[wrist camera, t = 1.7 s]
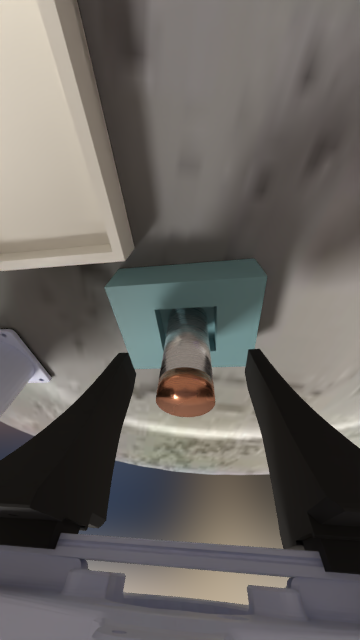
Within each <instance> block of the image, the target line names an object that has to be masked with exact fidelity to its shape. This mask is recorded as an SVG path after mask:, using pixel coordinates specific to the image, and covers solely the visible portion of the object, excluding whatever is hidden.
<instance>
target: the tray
mask: <svg viewBox="0 0 360 640" xmlns="http://www.w3.org/2000/svg"><path fill="white" fill-rule="evenodd" d="M134 249H135V247H134V243H133V239H132V234H131V230H130V226H129V221H128V217H127V213H126V209H125V204H124V200H123V196H122V191H121V187H120V183H119V178H118V174H117V170H116V166H115V161H114V157H113V153H112V148H111V144H110V140H109V135H108V131H107V127H106V122H105V118H104V114H103V110H102V105H101V101H100V97H99V92H98V88H97V84H96V79H95V75H94V71H93V67H92V62H91V58H90V54H89V49H88V45H87V41H86V36H85V32H84V28H83V23H82V19H81V15H80V11H79V6H78V2H77V0H0V271H9V270H21V269H33V268H46V267H58V266H70V265H83V264H95V263H107V262H120V261H125V260H126V259H127V258H128V257H129V255H130V254H131V253H132V251H133V250H134Z"/></svg>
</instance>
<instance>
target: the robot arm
mask: <svg viewBox="0 0 360 640" xmlns="http://www.w3.org/2000/svg"><path fill="white" fill-rule="evenodd" d="M245 376H246V381H247V387H248V391H249V394H250V397H251V401H252V404H253V407H254V410H255V414H256V417H257V420H258V423H259V427H260V430H261V434H262V438H263V443H264V448H265V452H266V457H267V462H268V467H269V472H270V478H271V483H272V489H273V494H274V499H275V506H276V512H277V518H278V524H279V530H280V536H281V540H282V545H283V548H284V549H276V548H262V547H249V546H234V545H220V544H207V543H192V542H179V541H166V540H152V539H138V538H124V537H111V536H97V535H83V534H78V532H79V530H83V531H86V530H87V528H88V527H91V528H99V527H101V526H102V525H103V524H104V522H105V521H106V516H107V508H108V501H109V494H110V487H111V480H112V474H113V469H114V463H115V458H116V452H117V447H118V443H119V438H120V433H121V429H122V425H123V422H124V419H125V416H126V412H127V409H128V406H129V403H130V399H131V396H132V393H133V389H134V383H135V377H136V372H135V370H134V367H133V364H132V361H131V359H130V356H129V353H118V355H117V356H116V357H115V358H114V359H113V361H112V362H111V363H110V364H109V365H108V367H107V368H106V369H105V370H104V371H103V373H102V374H101V375H100V376H99V377H98V378H97V379H96V381H95V382H94V383H93V384H92V385H91V386H90V387H89V388H88V389H87V390H86V391H85V392H84V394H83V395H82V396H81V397H80V398H79V399H78V400H77V401H76V402H75V403H74V404H73V405H71V406H70V407H69V408H68V409H67V410H66V411H65V412H64V413H63V414H62V415H60V416H59V417H58V418H57V419H56V420H54V421H53V422H52V423H51V424H50V425H48V426H47V427H46V428H45V429H44V430H42V431H41V432H40V433H38V434H37V435H36V436H34V437H33V438H32V439H31V440H29V441H28V442H26V443H25V444H24V445H23V446H21V447H19V448H18V449H17V450H16V451H14V452H12V453H11V454H9V455H8V456H6V457H5V458H3V459H2V460H0V640H360V448H358V447H357V446H356V445H355V444H353V443H352V442H351V441H349V440H348V439H347V438H346V437H345V436H343V435H342V434H341V433H340V432H338V431H337V430H336V429H335V428H334V427H332V426H331V425H330V424H329V423H328V422H326V421H325V420H324V419H323V418H322V417H321V416H320V415H319V414H317V413H316V412H315V411H314V410H313V409H312V408H311V407H310V406H309V405H308V404H307V403H306V402H305V401H304V400H303V399H302V398H301V397H300V396H299V395H298V394H297V393H296V392H295V391H294V390H293V389H292V388H291V387H290V386H289V384H288V383H287V382H286V381H285V380H284V379H283V378H282V376H281V375H280V374H279V373H278V372H277V371H276V369H275V368H274V367H273V366H272V364H271V363H270V362H269V361H268V359H267V358H266V357H265V355H264V354H263V353H262V351H261V350H260V349H248V355H247V361H246V367H245ZM51 379H52V378H51V376H50V375H49V374H48V373H47V371H46V370H45V369H44V368H43V366H42V365H41V364H40V363H39V361H38V360H37V359H36V357H35V356H34V355H33V354H32V352H31V351H30V350H29V349H28V347H27V346H26V345H25V343H24V342H23V341H22V340H21V338H20V337H19V336H18V335H17V333H16V332H15V331H13V330H11V329H0V417H1V416H2V414H3V413H4V412H5V410H6V409H7V408H8V407H9V405H10V404H11V403H12V402H13V400H14V399H15V398H16V397H17V395H18V394H19V393H20V391H21V390H22V389H23V388H24V386H25V385H26V384H27V383H31V382H50V380H51ZM86 560H95V561H107V562H120V563H130V564H143V565H154V566H165V567H177V568H188V569H200V570H212V571H223V572H235V573H246V574H258V575H269V576H280V577H292V578H289V580H288V581H287V586H286V588H275V587H264V586H253V585H248V587H247V592H248V600H249V605H243V604H235V603H227V602H219V601H211V600H202V599H193V598H182V597H173V596H161V595H148V594H136V593H124V592H123V588H124V582H125V577H126V576H125V574H123V573H112V572H102V571H91V570H89V569H88V564H87V561H86Z"/></svg>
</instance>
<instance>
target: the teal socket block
mask: <svg viewBox="0 0 360 640" xmlns="http://www.w3.org/2000/svg"><path fill="white" fill-rule="evenodd" d="M266 282H267V275H266V273H265V272H264V271H263V269H262V268H261V267H260V265H259V264H258V263H257V261H256V260H255V259H241V260H228V261H215V262H202V263H189V264H176V265H163V266H150V267H138V268H125V269H118V270H117V272H116V273H115V274H114V276H113V277H112V278H111V280H110V281H109V282H108V283H107V285H106V286H105V287H104V288H105V290H106V293H107V296H108V298H109V301H110V304H111V307H112V309H113V312H114V315H115V318H116V320H117V323H118V326H119V329H120V331H121V334H122V337H123V339H124V342H125V345H126V348H127V350H128V353H129V356H130V359H131V361H132V364H133V367H134V369H152V368H161V364H162V358H163V352H164V346H165V340H166V333H167V327H168V321H169V315H170V313H171V311H172V310H173V309H176V308H194V307H200V308H202V309H203V310H204V312H205V313H206V316H207V325H208V335H209V345H210V355H211V365H212V367H235V366H246V361H247V355H248V349H254V348H255V343H256V337H257V332H258V326H259V321H260V315H261V309H262V304H263V298H264V293H265V287H266Z"/></svg>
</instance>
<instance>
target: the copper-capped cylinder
mask: <svg viewBox="0 0 360 640" xmlns="http://www.w3.org/2000/svg"><path fill="white" fill-rule="evenodd" d="M156 403H157V405H158V406H159V407H160V408H161V409H162V410H163V411H165V412H167V413H169V414H172V415H175V416H180V417H195V416H200V415H203V414H205V413H207V412H209V411H210V410H212V408H213V407H214V405H215V395H214V385H213V375H212V365H211V355H210V345H209V335H208V325H207V316H206V313H205V312H204V310H203V309H202V308H200V307H194V308H176V309H173V310H172V311H171V313H170V315H169V321H168V327H167V333H166V340H165V346H164V352H163V358H162V364H161V370H160V377H159V383H158V389H157V395H156Z"/></svg>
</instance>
